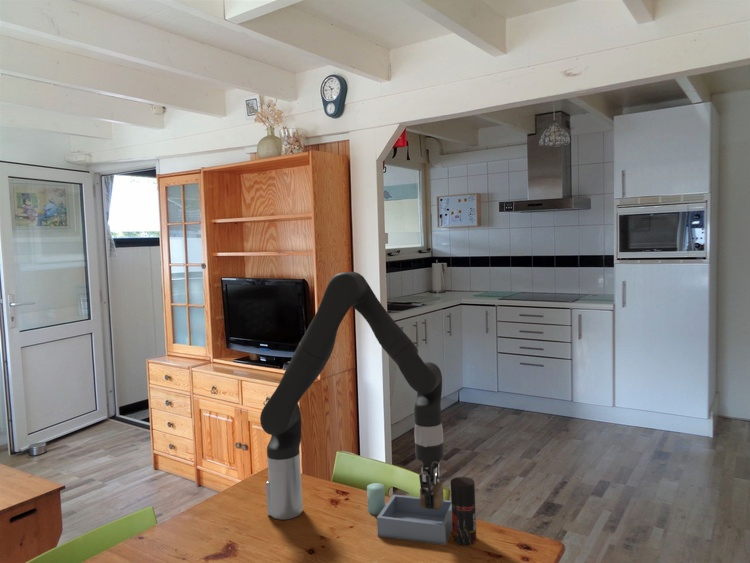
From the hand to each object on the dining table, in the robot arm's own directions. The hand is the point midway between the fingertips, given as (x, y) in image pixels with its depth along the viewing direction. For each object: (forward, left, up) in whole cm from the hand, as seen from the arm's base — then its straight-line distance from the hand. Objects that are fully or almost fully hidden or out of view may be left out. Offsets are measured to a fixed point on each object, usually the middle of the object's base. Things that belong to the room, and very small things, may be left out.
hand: (432, 502), depth 146 cm
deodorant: (+9, -3, -7) cm, 12 cm away
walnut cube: (0, 0, 0) cm, 0 cm away
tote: (-4, 0, -7) cm, 8 cm away
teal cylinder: (-18, +6, -7) cm, 20 cm away
